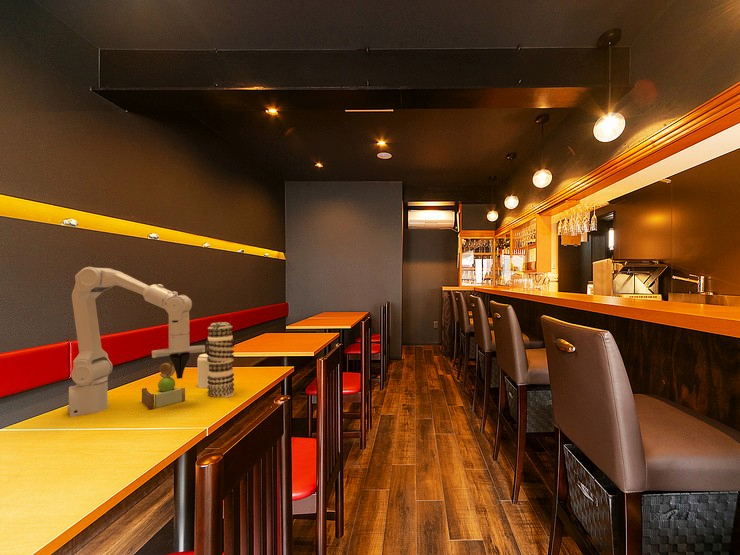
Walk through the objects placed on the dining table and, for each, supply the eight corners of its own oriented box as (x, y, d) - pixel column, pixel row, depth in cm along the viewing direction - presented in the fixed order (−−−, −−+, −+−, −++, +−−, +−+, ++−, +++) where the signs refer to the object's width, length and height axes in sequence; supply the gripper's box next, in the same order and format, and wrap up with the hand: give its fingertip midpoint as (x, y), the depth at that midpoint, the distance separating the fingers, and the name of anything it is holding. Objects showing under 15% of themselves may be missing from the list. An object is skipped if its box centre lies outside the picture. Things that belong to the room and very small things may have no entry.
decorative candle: (210, 401, 118) (210, 325, 118) (203, 395, 125) (202, 322, 125) (239, 395, 123) (238, 322, 124) (229, 389, 130) (229, 320, 131)
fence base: (148, 410, 109) (148, 395, 109) (141, 402, 116) (141, 388, 116) (154, 409, 110) (154, 394, 110) (146, 401, 118) (146, 387, 118)
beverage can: (192, 389, 132) (192, 356, 132) (208, 383, 140) (208, 352, 140) (210, 390, 130) (210, 357, 130) (225, 384, 138) (225, 353, 138)
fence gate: (156, 408, 110) (156, 394, 110) (154, 407, 111) (154, 394, 111) (185, 400, 117) (185, 388, 117) (184, 399, 118) (184, 387, 118)
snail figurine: (172, 394, 126) (172, 360, 126) (154, 394, 126) (154, 360, 127) (181, 389, 132) (180, 356, 132) (163, 389, 132) (163, 357, 132)
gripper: (202, 330, 120) (202, 371, 119) (151, 334, 111) (151, 378, 111) (206, 332, 114) (206, 376, 114) (152, 337, 106) (153, 384, 105)
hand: (179, 377), depth 112 cm, fingers closed
